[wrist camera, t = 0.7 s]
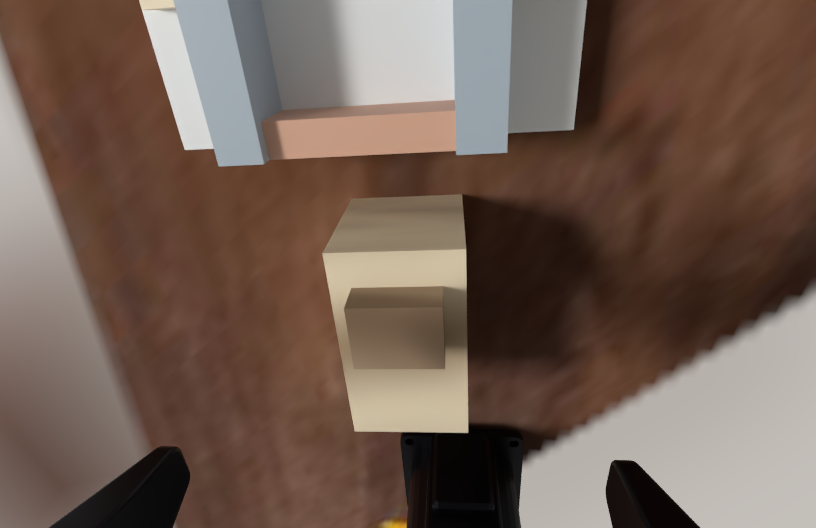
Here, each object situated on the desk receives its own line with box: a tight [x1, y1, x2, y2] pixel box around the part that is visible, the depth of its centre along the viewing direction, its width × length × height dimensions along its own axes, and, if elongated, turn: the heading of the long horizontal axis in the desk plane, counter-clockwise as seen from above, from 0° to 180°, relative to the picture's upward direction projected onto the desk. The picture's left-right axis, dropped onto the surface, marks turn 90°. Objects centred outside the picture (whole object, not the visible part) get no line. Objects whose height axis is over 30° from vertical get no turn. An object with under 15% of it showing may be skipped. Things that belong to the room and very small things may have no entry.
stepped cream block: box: [323, 194, 468, 433], centre depth 18 cm, size 8×4×6 cm, turn 4°
